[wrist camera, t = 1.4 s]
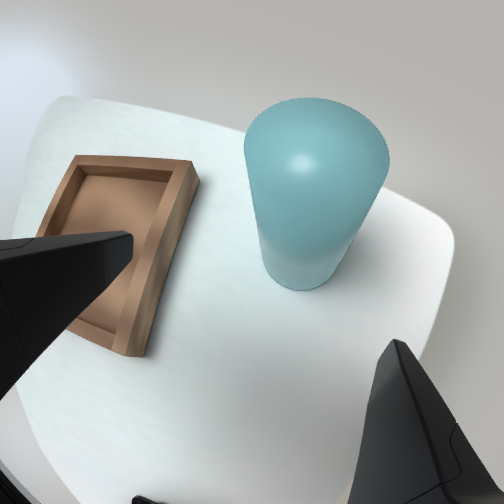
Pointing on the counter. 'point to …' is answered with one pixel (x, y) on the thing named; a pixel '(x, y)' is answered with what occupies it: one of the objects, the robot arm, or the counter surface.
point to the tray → (130, 220)
